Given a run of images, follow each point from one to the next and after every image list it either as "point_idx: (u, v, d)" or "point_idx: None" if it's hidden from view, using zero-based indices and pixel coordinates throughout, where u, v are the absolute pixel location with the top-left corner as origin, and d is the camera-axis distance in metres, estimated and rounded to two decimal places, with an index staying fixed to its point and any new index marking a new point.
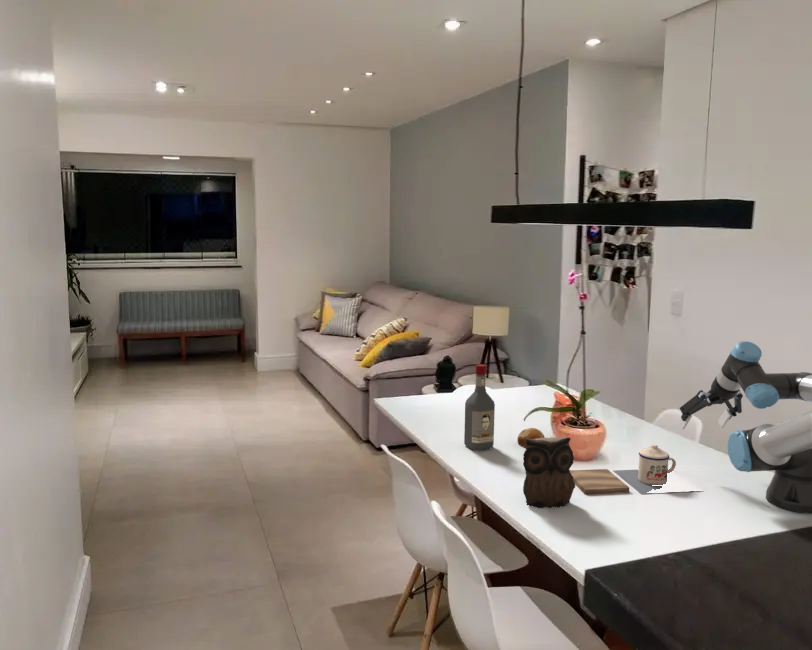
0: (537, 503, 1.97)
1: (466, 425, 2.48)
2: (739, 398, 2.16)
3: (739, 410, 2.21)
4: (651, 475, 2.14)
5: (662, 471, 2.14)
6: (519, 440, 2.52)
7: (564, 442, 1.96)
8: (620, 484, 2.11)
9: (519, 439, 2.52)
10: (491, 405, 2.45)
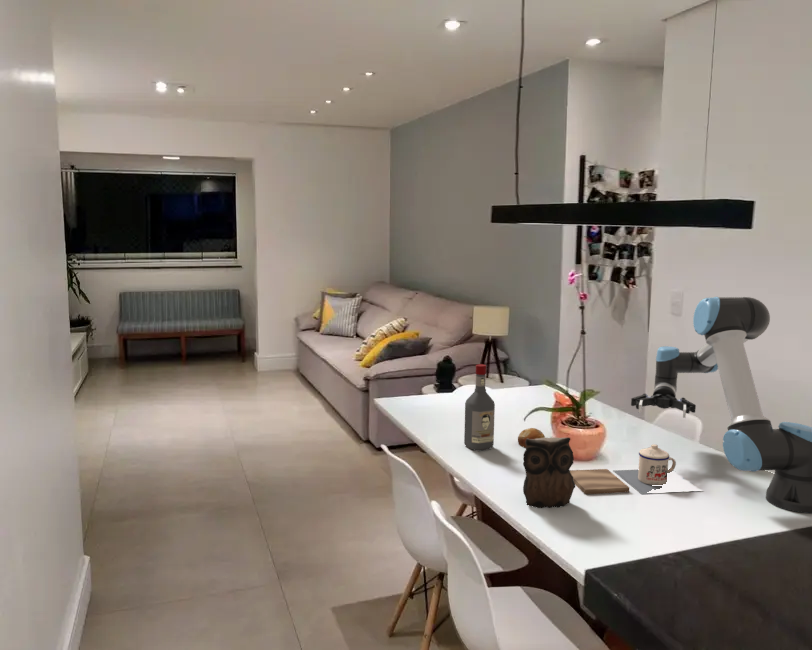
0: (537, 503, 1.97)
1: (466, 425, 2.48)
2: (683, 398, 2.36)
3: (692, 404, 2.29)
4: (651, 475, 2.14)
5: (662, 471, 2.14)
6: (519, 440, 2.52)
7: (564, 442, 1.96)
8: (620, 484, 2.11)
9: (519, 439, 2.52)
10: (491, 405, 2.45)
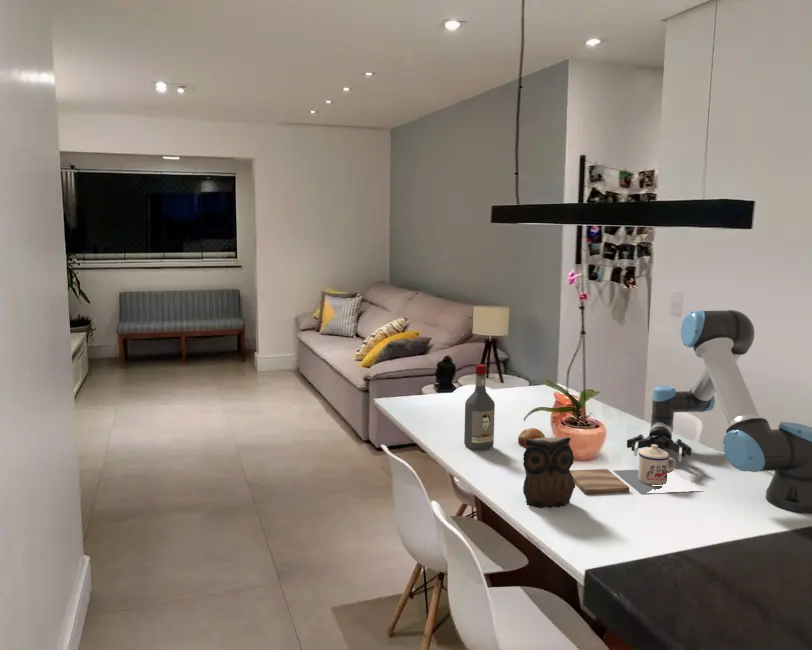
0: (537, 503, 1.97)
1: (466, 425, 2.48)
2: (679, 440, 2.35)
3: (687, 447, 2.28)
4: (651, 475, 2.14)
5: (662, 471, 2.14)
6: (519, 440, 2.52)
7: (564, 442, 1.96)
8: (620, 484, 2.11)
9: (520, 439, 2.52)
10: (491, 405, 2.45)
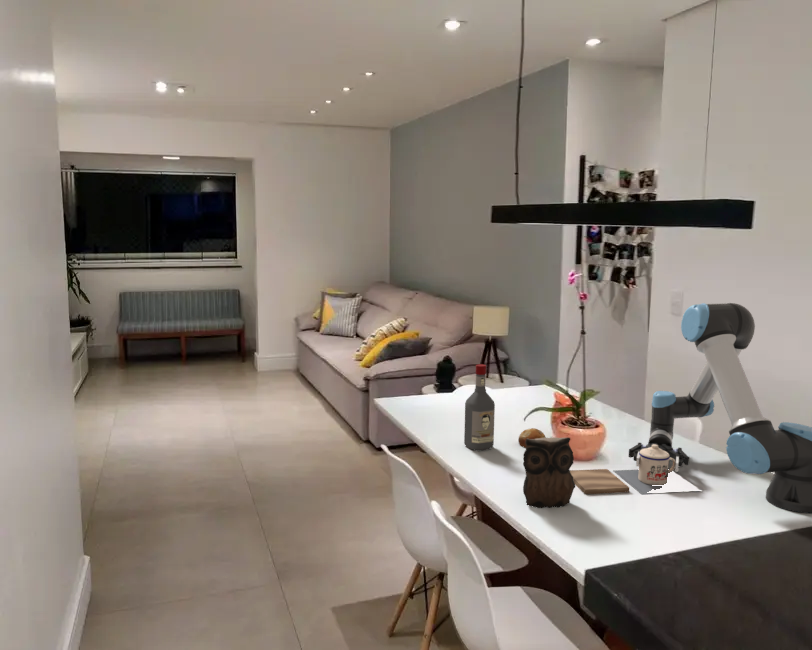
0: (537, 503, 1.97)
1: (466, 425, 2.48)
2: (679, 449, 2.25)
3: (685, 455, 2.19)
4: (652, 475, 2.14)
5: (663, 471, 2.14)
6: (520, 440, 2.51)
7: (564, 442, 1.96)
8: (620, 484, 2.11)
9: (520, 439, 2.51)
10: (491, 405, 2.45)
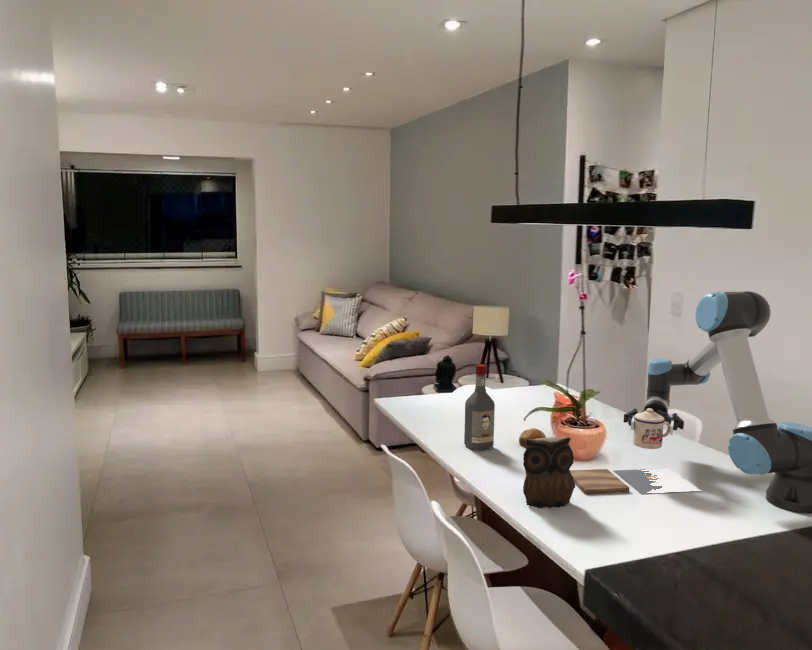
0: (537, 503, 1.97)
1: (466, 425, 2.48)
2: (674, 414, 2.24)
3: (680, 420, 2.17)
4: (646, 439, 2.13)
5: (657, 434, 2.12)
6: (520, 440, 2.51)
7: (564, 442, 1.96)
8: (620, 484, 2.11)
9: (520, 440, 2.51)
10: (491, 405, 2.45)
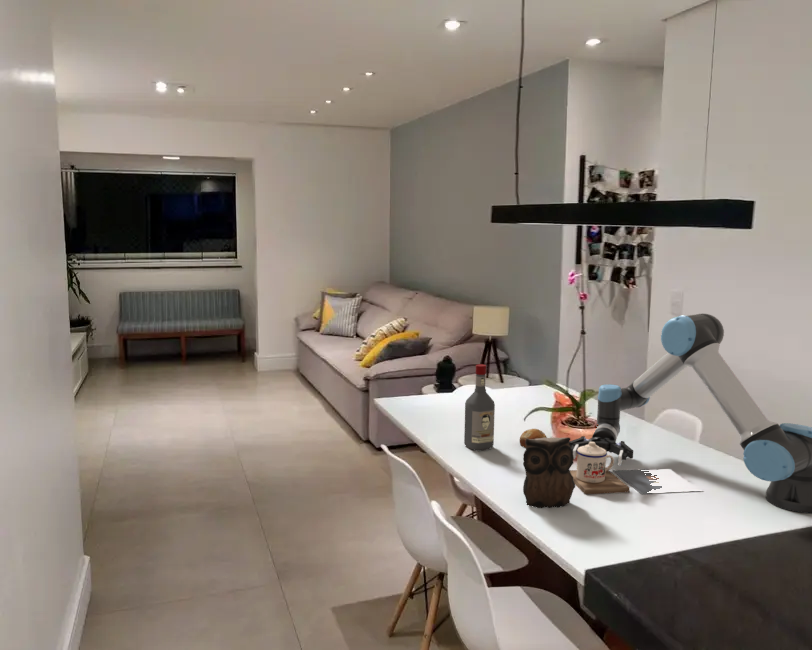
0: (537, 503, 1.97)
1: (466, 425, 2.48)
2: (622, 442, 2.23)
3: (629, 449, 2.16)
4: (589, 473, 2.11)
5: (600, 468, 2.11)
6: (521, 441, 2.51)
7: (564, 442, 1.96)
8: (620, 484, 2.11)
9: (521, 440, 2.51)
10: (491, 405, 2.45)
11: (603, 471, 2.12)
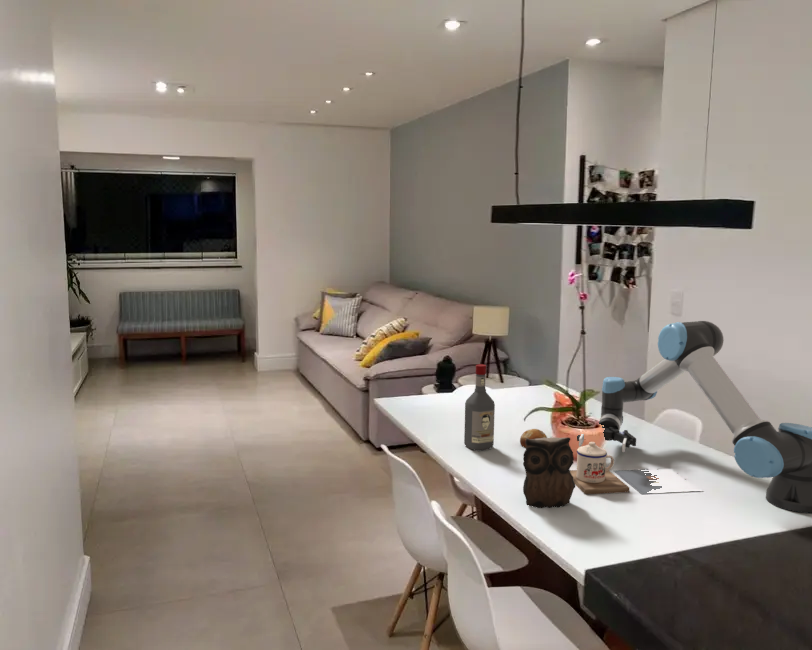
0: (537, 503, 1.97)
1: (466, 425, 2.48)
2: (625, 431, 2.34)
3: (632, 437, 2.28)
4: (589, 473, 2.11)
5: (599, 468, 2.11)
6: (521, 441, 2.51)
7: (564, 442, 1.96)
8: (620, 484, 2.11)
9: (522, 440, 2.51)
10: (491, 405, 2.45)
11: (603, 471, 2.12)
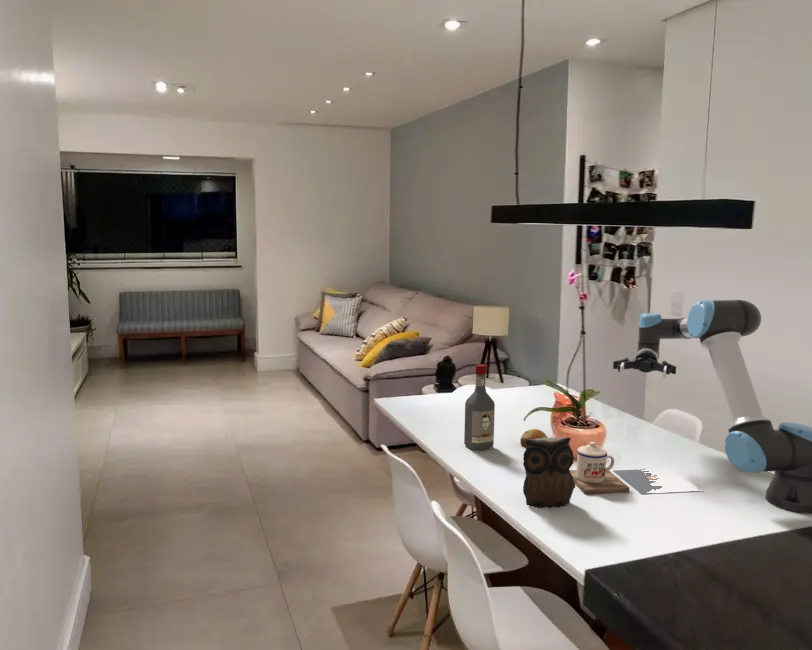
0: (537, 503, 1.97)
1: (466, 425, 2.48)
2: (664, 362, 2.39)
3: (672, 366, 2.32)
4: (589, 473, 2.11)
5: (600, 468, 2.11)
6: (522, 441, 2.51)
7: (564, 442, 1.96)
8: (620, 484, 2.11)
9: (522, 440, 2.51)
10: (491, 405, 2.45)
11: (603, 471, 2.12)
